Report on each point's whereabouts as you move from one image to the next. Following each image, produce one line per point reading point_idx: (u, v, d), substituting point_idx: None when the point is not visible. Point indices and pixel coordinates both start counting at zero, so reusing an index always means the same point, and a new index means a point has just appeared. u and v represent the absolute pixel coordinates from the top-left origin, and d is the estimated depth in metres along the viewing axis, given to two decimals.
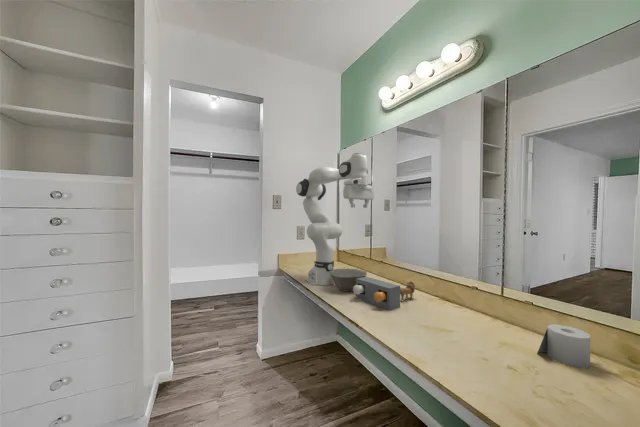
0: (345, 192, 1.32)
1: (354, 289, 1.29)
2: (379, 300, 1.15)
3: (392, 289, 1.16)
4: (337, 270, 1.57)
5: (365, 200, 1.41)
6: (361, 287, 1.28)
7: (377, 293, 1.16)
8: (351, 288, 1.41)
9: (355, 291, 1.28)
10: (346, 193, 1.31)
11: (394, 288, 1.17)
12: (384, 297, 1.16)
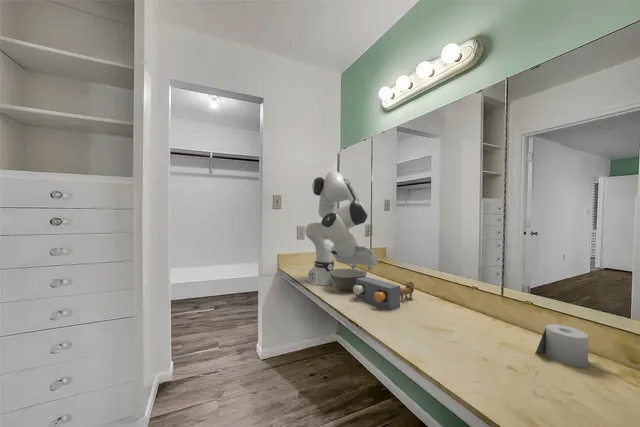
0: None
1: (354, 289, 1.29)
2: (379, 300, 1.15)
3: (392, 289, 1.16)
4: (337, 270, 1.57)
5: None
6: (361, 287, 1.28)
7: (377, 293, 1.16)
8: (351, 288, 1.41)
9: (355, 291, 1.28)
10: None
11: (394, 288, 1.17)
12: (384, 297, 1.16)
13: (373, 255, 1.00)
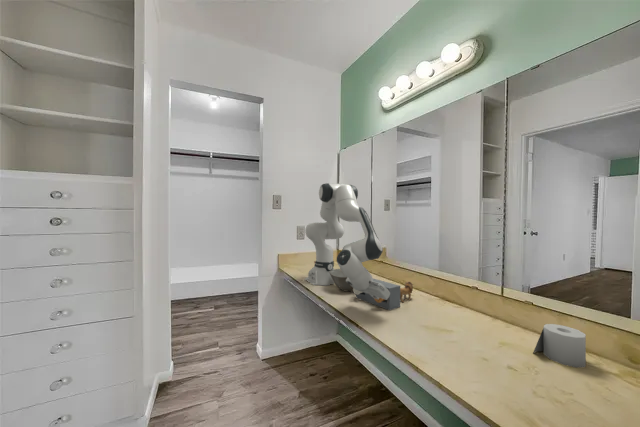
0: None
1: (354, 289, 1.29)
2: (379, 300, 1.15)
3: (392, 289, 1.16)
4: (337, 270, 1.57)
5: None
6: None
7: None
8: (351, 288, 1.41)
9: (355, 291, 1.28)
10: None
11: (394, 288, 1.17)
12: None
13: (385, 291, 1.05)
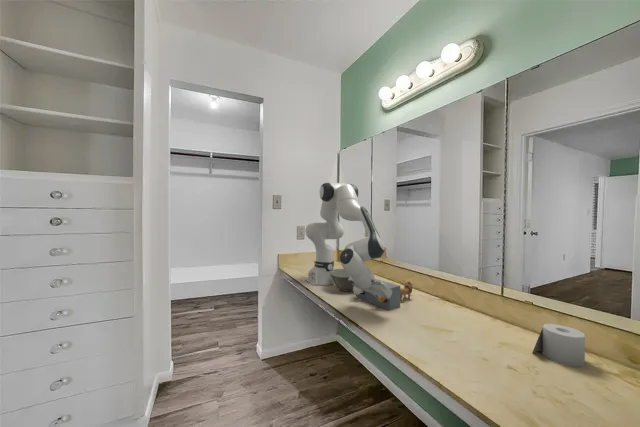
0: None
1: (354, 289, 1.29)
2: (381, 299, 1.16)
3: (392, 289, 1.16)
4: (337, 270, 1.57)
5: None
6: None
7: None
8: (351, 288, 1.41)
9: (355, 291, 1.28)
10: None
11: (394, 288, 1.17)
12: None
13: (388, 289, 1.06)
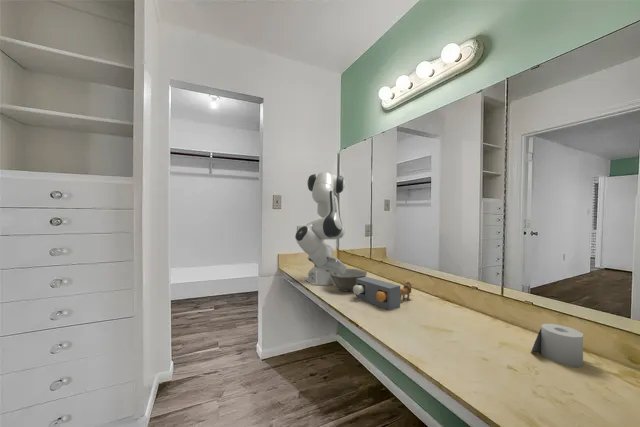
0: None
1: (354, 289, 1.29)
2: (381, 299, 1.16)
3: (392, 289, 1.16)
4: None
5: None
6: (361, 287, 1.28)
7: (379, 292, 1.17)
8: (351, 288, 1.41)
9: (355, 291, 1.28)
10: None
11: (394, 288, 1.17)
12: (386, 296, 1.17)
13: (342, 266, 1.09)
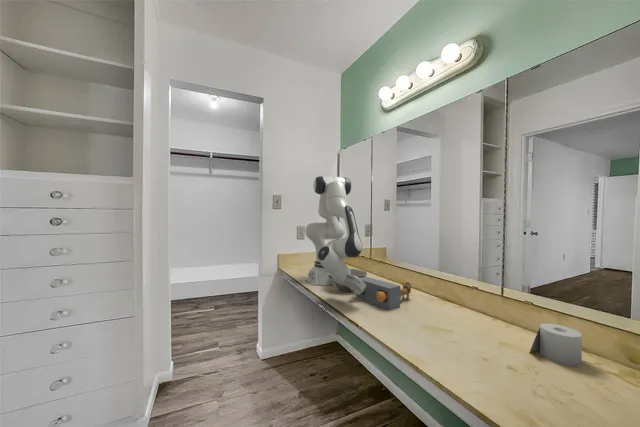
0: None
1: None
2: (381, 299, 1.16)
3: (392, 289, 1.16)
4: None
5: None
6: None
7: (379, 292, 1.17)
8: None
9: None
10: None
11: (394, 288, 1.17)
12: (386, 296, 1.17)
13: (361, 283, 1.16)
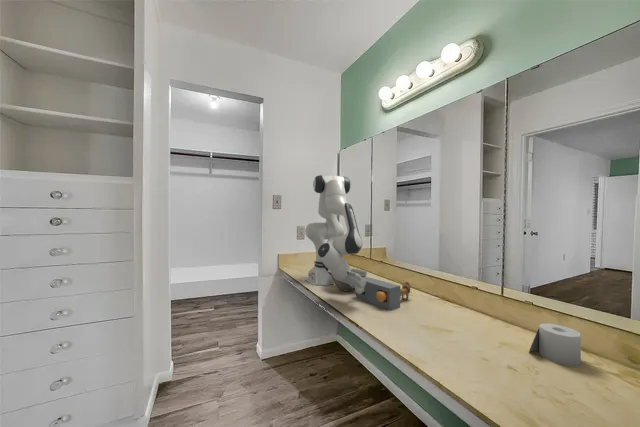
0: None
1: (356, 289, 1.30)
2: (381, 299, 1.16)
3: (392, 289, 1.16)
4: None
5: None
6: None
7: (379, 292, 1.17)
8: (351, 288, 1.41)
9: (358, 290, 1.29)
10: None
11: (394, 288, 1.17)
12: (386, 296, 1.17)
13: (362, 280, 1.16)
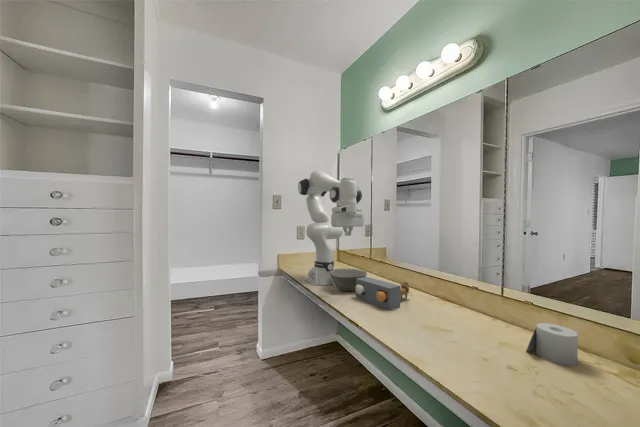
0: (332, 220, 1.24)
1: (356, 289, 1.30)
2: (381, 299, 1.16)
3: (392, 289, 1.16)
4: (337, 270, 1.57)
5: (349, 227, 1.31)
6: (363, 287, 1.29)
7: (379, 292, 1.17)
8: (351, 288, 1.41)
9: (358, 290, 1.29)
10: (334, 221, 1.23)
11: (394, 288, 1.17)
12: (386, 296, 1.17)
13: None
